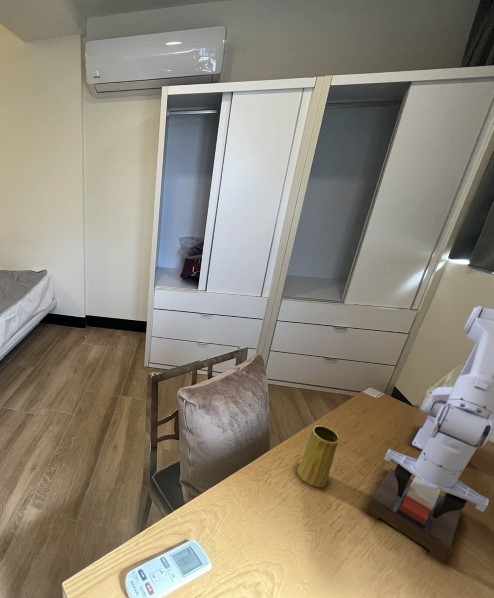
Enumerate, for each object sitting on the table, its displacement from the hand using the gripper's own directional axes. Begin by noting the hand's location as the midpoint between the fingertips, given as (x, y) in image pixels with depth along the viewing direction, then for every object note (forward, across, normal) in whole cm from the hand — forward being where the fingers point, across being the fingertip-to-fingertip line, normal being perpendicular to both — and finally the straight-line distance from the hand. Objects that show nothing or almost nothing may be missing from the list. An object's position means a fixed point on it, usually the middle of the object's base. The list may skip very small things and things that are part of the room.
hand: (417, 504), depth 67 cm
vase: (+4, -17, -8) cm, 19 cm away
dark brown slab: (+3, 0, 0) cm, 3 cm away
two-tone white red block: (+1, 0, 0) cm, 1 cm away
